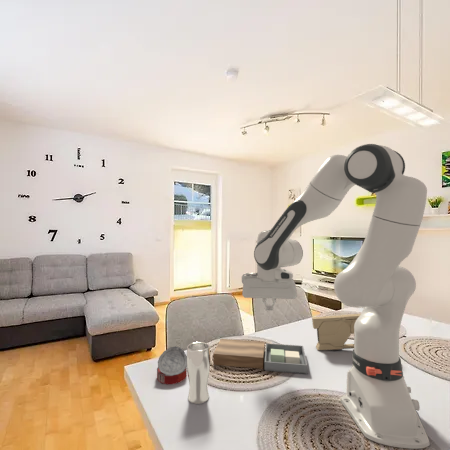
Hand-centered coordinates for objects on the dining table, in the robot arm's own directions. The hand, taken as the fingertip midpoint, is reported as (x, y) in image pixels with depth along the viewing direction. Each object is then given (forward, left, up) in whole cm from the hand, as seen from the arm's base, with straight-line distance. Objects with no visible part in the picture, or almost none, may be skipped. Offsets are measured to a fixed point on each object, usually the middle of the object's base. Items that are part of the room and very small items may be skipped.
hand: (269, 309), depth 105 cm
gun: (+14, -30, -19) cm, 38 cm away
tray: (0, -6, -19) cm, 20 cm away
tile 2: (0, -8, -16) cm, 18 cm away
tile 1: (+1, -3, -18) cm, 19 cm away
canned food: (-17, +32, -19) cm, 41 cm away
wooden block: (0, +11, -19) cm, 22 cm away
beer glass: (-27, +20, -19) cm, 39 cm away
